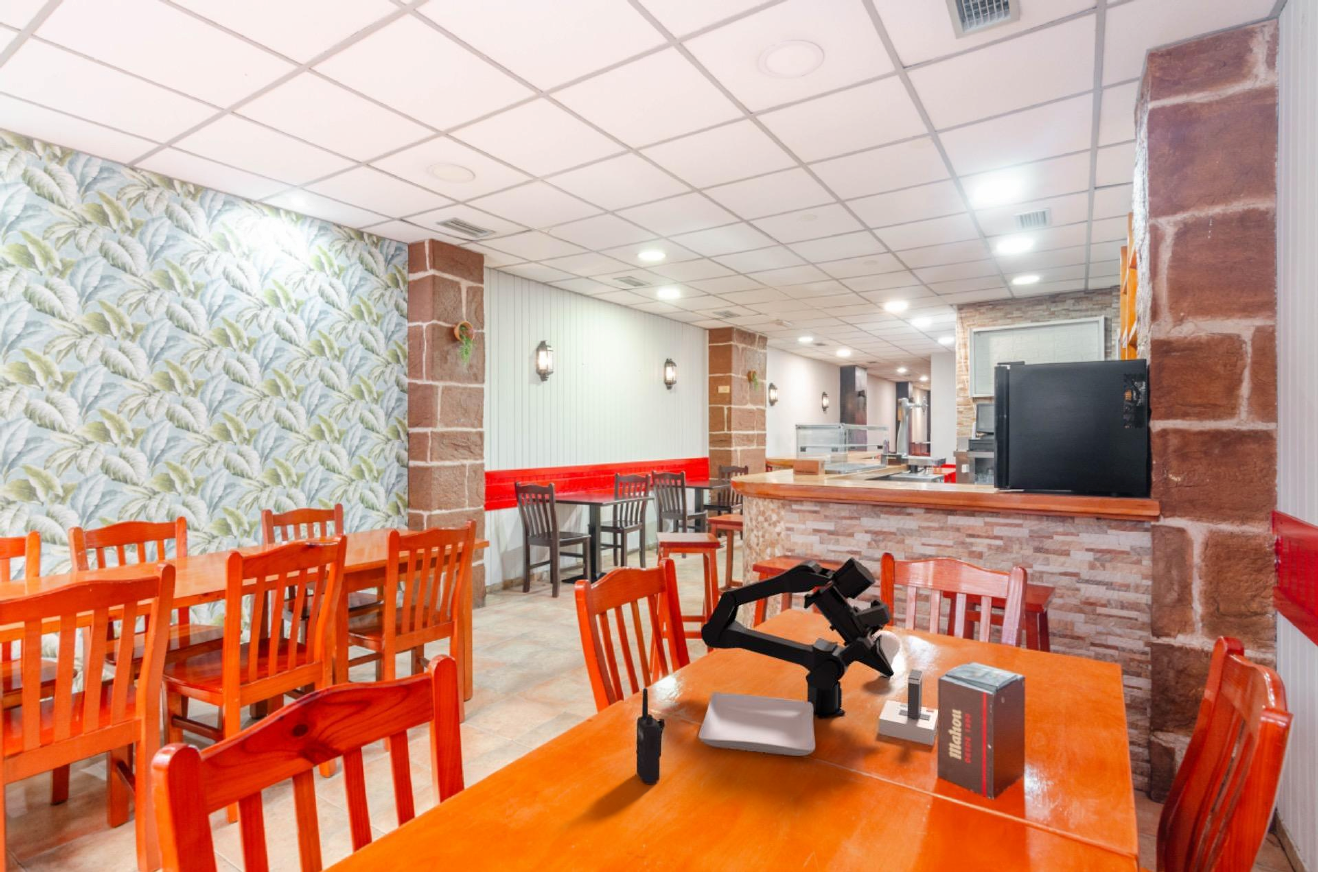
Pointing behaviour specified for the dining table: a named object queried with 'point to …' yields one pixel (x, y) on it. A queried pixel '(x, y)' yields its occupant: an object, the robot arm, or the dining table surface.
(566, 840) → the dining table surface
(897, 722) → the block
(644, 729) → the two-way radio
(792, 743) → the salad plate
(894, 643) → the lightbulb
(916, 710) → the breaker toggle
